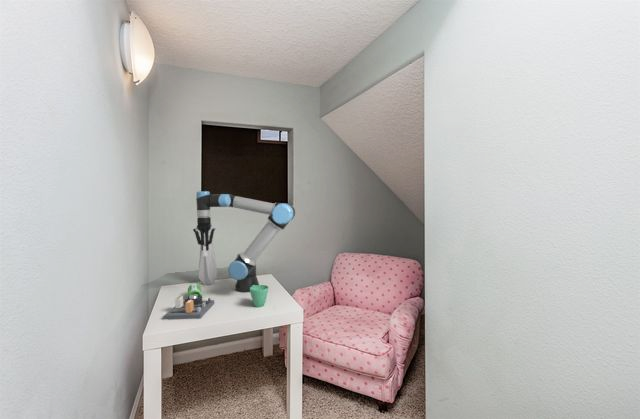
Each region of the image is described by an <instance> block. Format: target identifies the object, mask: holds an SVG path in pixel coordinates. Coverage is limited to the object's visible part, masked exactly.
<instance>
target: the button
mask: <svg viewBox="0 0 640 419" xmlns="http://www.w3.org/2000/svg"><path fill="white" fill-rule="evenodd" d="M197 298H198V294H191V295H189V299H197Z"/></svg>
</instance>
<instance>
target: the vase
mask: <svg viewBox="0 0 640 419" xmlns="http://www.w3.org/2000/svg"><path fill="white" fill-rule="evenodd" d="M208 236H209V238H210V235H208ZM204 245H205V235H204ZM199 246H200V249H199V262H198V279H199V281H200V282H201V284H202V285H203V286H209V285H213V284H214V283H215V281H216V279H217V278H218V271H217V270H218V269H217V263H216V256H215V249H214V244H213V241H212V243H211V244H209V250H208V251H207V256H203V251H202V248H201V245H200V244H199Z"/></svg>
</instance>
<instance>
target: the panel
mask: <svg viewBox="0 0 640 419" xmlns="http://www.w3.org/2000/svg"><path fill="white" fill-rule="evenodd" d="M188 300H193V303H194V310H193V311H192V312H191V313H186V305H185V303H186V302H187V301H188ZM214 305H215V299H211V298H210V297H203V295H202V294H201V295H198V298H197V299H189V297H188V296H187V297H186V298H185V299H184V300H183V306H182V307H181V308H175V306H174V307H172V308H171V309H170V310H169V311H168V312H166V313H165V314H164V315H163V320H164V319H168V320H195V319H197V320H199V319H202V318H203V316H204V315H205V314H206V313H207V312H208V311H210V309H211V308H212V307H213V306H214Z"/></svg>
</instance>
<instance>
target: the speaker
mask: <svg viewBox="0 0 640 419" xmlns="http://www.w3.org/2000/svg"><path fill="white" fill-rule="evenodd" d="M191 294H198V295H202V290H201V286H200V285H199V284H198V283H192V284H190V285H189V286H188V288H187V297H189V295H191Z"/></svg>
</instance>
